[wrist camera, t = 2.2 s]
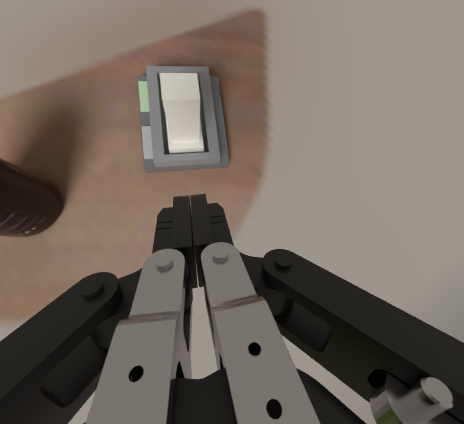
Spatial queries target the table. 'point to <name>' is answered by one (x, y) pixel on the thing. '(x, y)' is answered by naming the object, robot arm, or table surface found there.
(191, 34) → the table surface
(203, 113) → the grey slotted stand
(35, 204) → the supplement bottle
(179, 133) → the block
